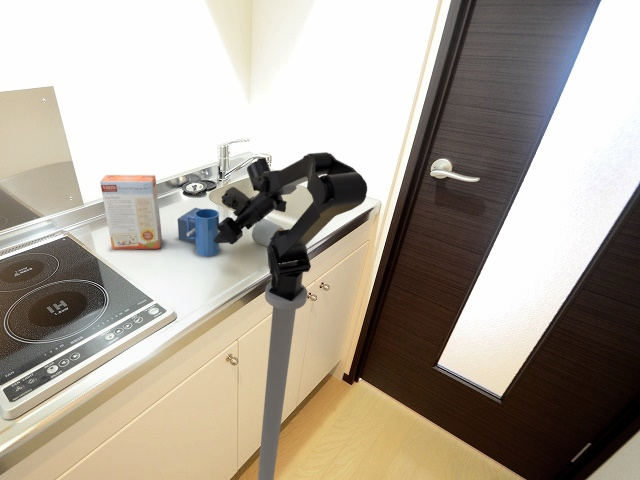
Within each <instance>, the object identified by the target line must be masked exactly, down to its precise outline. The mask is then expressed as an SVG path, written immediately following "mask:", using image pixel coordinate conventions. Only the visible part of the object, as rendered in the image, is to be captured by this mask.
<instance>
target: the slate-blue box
mask: <svg viewBox="0 0 640 480" xmlns="http://www.w3.org/2000/svg"><path fill="white" fill-rule="evenodd" d="M201 209H202V208H200V207H199V208H198V207H194V208H192V209H191V210H189V211H187V212H186V213H184V214H183V215H181V216H180V217H178V218H177V230H178V231H177V232H178V233H177V234H178V240H180V241H184V242H188V243H191V244H195V245H196V240H192V239H188V237H187V236H193V237H195V220H192V219H190V232H188V233H187V220H186V216H187V215H189V216H193V217H194V214H195V212H196V211H197V210H201Z"/></svg>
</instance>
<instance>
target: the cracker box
mask: <svg viewBox="0 0 640 480" xmlns="http://www.w3.org/2000/svg"><path fill="white" fill-rule="evenodd" d="M156 177H157V176H156V174H106V175H104V176H103V178H102V179H101V180H100V181H99V184H100V189H101V195H102V201H103V206H104V211H105V217H106V222H107V223H106V224H107V229H108V233H109V239H110V244H111V248H112V250H159V249H160V248H161V246H162V242H163V233H162V225H161V224H162V223H161V215H160V206H159V195H158V188H157V179H156Z"/></svg>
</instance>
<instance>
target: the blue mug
mask: <svg viewBox="0 0 640 480" xmlns="http://www.w3.org/2000/svg"><path fill="white" fill-rule="evenodd" d="M200 209H201V210H197V211H196V212H195V214H194V217H193V216H189V215H187V216H186V220H187V233H188V232H190V219H192V220H195V237H193V236H187V237H188V239H192V240H196V244H195V252H196V254H197V255H198V256H200V257H204V258H205V257H207V258H209V257H214V256H217V255H218V254H219V253H220V243H218V244H216V243H215V242H214V239H215V238H216V236H217V235H218V233H219V232H220V231H219V230H218V228H217V225H218V224H219V223H220V212H219V211H218V210H216V209H214V208H200Z"/></svg>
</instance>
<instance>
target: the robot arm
mask: <svg viewBox="0 0 640 480" xmlns="http://www.w3.org/2000/svg"><path fill="white" fill-rule="evenodd" d="M246 172H247V174H248V177H249V181H250V184H251V186H252V189H253V192H256V191H257V192H258V193H256V194H255V195H253V196H251V197H248V196H247V195H246V194H245V193H244V192H242V191H241V190H239V188H236V187H234V186H231V187H229V188H228V189H227V190H225V192H224V194H223V195H221V198H220V199H221V203H222V204H223V205H224V206H225V207H227V208H228V209H232V210H234V211H233V212H232V214H233V215H234V216H235V217H236V218H235V220H234V218H233V217H231V216H230V217H229V216H227V217H225V218H224V219H223V220H222V221H219V224H218V225H217V228H218V230H219V233H218V235H217V236H216V238H215V239H214V242H215V243H216V244H218V243H219V244H229V245H235V243H237V242H238V241H239V240H240V239H241V238H242V237H243V235H244V232H243V229H244V228H245V229H247V230H250V229H252V227H254V226H255V224H256V223H257V222H259V221H261V220H262V219H263V218H265V217H267V216H268V215H269V214H271V213H272V212H274V210H275V211H277V212H280V213H285V212H286V210H287V204H288V202H287V201H286V200H284V198H283V196H286V195H291V194H292V193H294V192H295V191H296V190H297V189H298V188H297V186H298V185H300V184H303V183H306V182H307V183H306V189H307V191H308V193H309V194H310V195H311V198H312V202H311V203H310V204H309V206H308V207H307V208H306V210H305V211H304V212H303V213H302V214H301V216H300V217H299V218H298V219H297V220H296V221H295V223H294V224H293V225H292V227H291V228H288V229H284V230H280V231H277V232H275V234H274V236H273V237H272V238H270V239H271V241H270V243H269V246H268V247H267V249H266V253H267V254H266V255H267V264H268V265H267V266H268V269H269V274H270V275H271V281H270V282H271V286H272V288H271V289H269V292H270V293H272V294H274V295H277V296H279V297H281V298H284V299H286V300H288V301H293V300H294V299H295V298H296V297H297V296H298V295H299V294H300V293H301V292H302V291H303V290H304V288H303V287H301V284H302V283H303V276H304V273H309V272H310V270H311V268H312V266H311V261H310V257H309V254H308V248H307V245H308V244H309V243H310V242H311V241H312V240H313V239H314V238H315V237H316V236H317V235H318V234H319V233H320V231H322V230H323V229H324V228H325V227H326V226H327V225H328V224H329V223H330V222H332V220H333V219H334V218H335V217H336V216H340V215H341V214H344V213H347V212H349V211H353V209H356V208H358V207H359V206H361V205H363V203H364V202H365V200H366V199H367V194H368V184H367V181H366V180H365V179H364V177H363V176H362V175H361V174H360V173H359V172H358V171H357V170H356V169H355V168H354V167H353V166H350V165H349V164H347V163H344V162H342V161H340V160H339V159H336V157H335V156H334V155H333V154H332V153H330V152H327V151H325V152H311V153H307V154H305V155H304V156H303V157H302V158H301V159H299V160H297V161H295V162H293V163H291V164H288V165H287V166H285V167H284V168H281V169H278V170H271V167H270V165H269V162H268V161H267V159H266V157H258V158H257V160H255V161H252V163H250V164H249V165H248V166H247V167H246ZM302 285H303V284H302Z"/></svg>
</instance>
